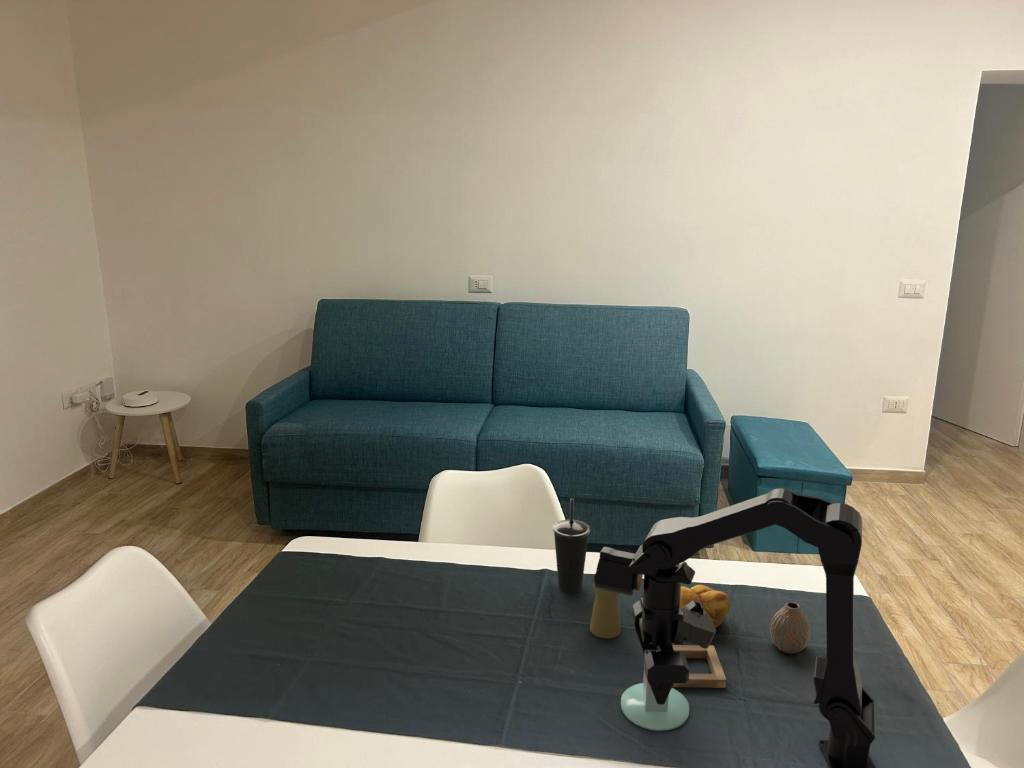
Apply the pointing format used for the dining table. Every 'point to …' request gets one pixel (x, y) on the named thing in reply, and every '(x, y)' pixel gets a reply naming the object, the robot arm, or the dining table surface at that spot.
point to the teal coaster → (654, 720)
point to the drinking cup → (570, 552)
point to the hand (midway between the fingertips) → (656, 684)
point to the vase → (790, 629)
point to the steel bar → (651, 696)
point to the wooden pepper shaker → (605, 614)
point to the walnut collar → (717, 676)
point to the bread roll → (707, 601)
